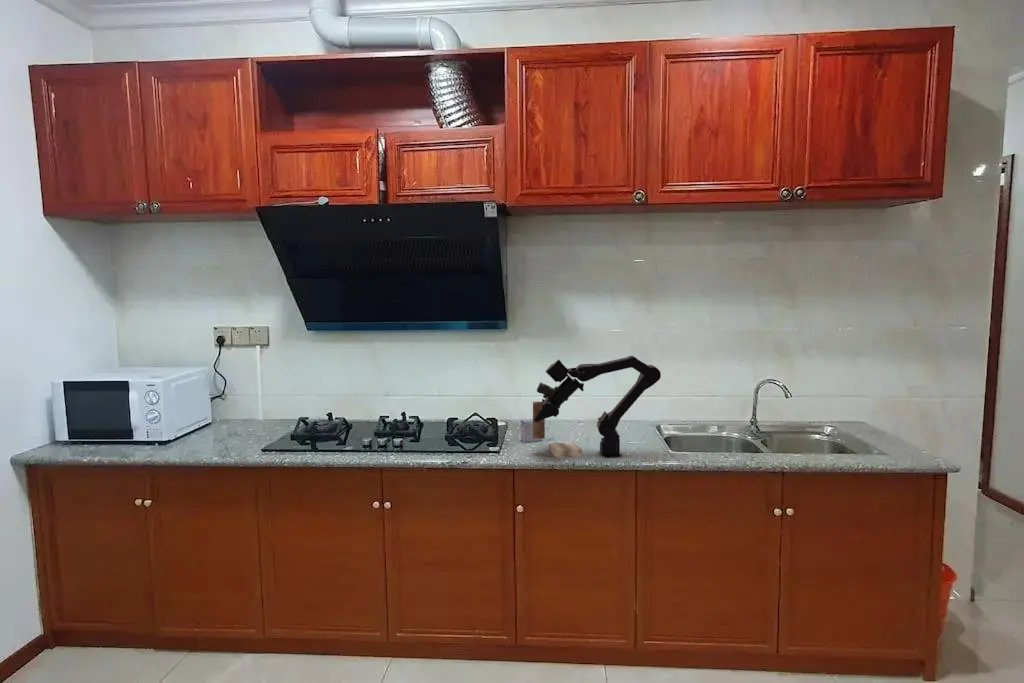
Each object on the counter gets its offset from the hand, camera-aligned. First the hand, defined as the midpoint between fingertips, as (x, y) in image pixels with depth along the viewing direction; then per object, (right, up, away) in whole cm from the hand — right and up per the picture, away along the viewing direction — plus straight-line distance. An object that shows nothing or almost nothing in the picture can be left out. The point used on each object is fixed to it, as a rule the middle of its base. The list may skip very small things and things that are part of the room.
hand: (535, 419), depth 226 cm
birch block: (+11, -13, +3) cm, 18 cm away
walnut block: (+1, -7, +1) cm, 7 cm away
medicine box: (-1, -11, +20) cm, 23 cm away
